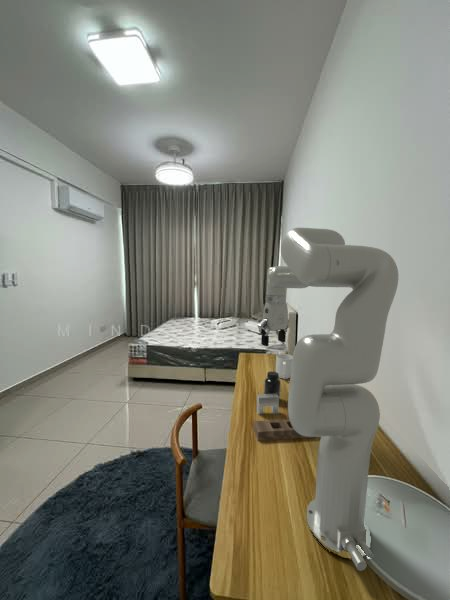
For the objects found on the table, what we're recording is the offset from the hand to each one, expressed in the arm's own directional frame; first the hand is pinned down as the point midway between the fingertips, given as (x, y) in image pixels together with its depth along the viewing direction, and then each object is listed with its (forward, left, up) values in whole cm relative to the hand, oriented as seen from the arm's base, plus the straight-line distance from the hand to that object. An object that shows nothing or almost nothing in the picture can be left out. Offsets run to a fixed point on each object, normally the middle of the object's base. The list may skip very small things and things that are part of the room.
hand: (273, 343), depth 95 cm
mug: (+32, -18, -28) cm, 46 cm away
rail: (-14, -1, -28) cm, 31 cm away
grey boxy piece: (-1, +1, -28) cm, 28 cm away
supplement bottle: (+9, -4, -28) cm, 30 cm away
